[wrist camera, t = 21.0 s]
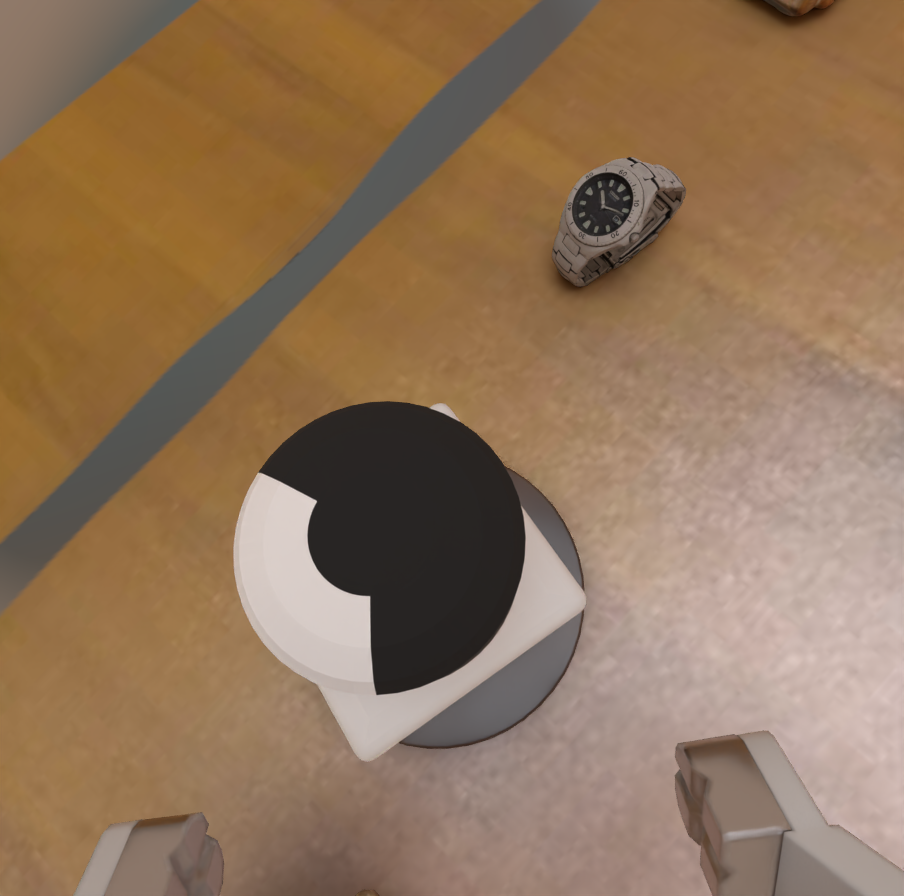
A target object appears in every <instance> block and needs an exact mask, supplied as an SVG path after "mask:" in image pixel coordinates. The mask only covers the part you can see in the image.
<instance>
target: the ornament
mask: <svg viewBox="0 0 904 896" xmlns="http://www.w3.org/2000/svg"><path fill="white" fill-rule="evenodd" d="M764 1H766V2H767V3H769V4H771V5H772V6H774V7H775V8H776V9H778V10H779V11H780V12H782V13H784V14H786V15H789V16H801V15H803V14H805V13H807V12H809V11H810V10H811V9H812V8H814V7H815V8H821V9H823V8H826V7H828V6H829V5H830V4H832V3H833V2H834V1H835V0H764Z"/></svg>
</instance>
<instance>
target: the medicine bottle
mask: <svg viewBox="0 0 904 896" xmlns="http://www.w3.org/2000/svg"><path fill="white" fill-rule="evenodd" d="M234 572H235V579H236V585H237V590H238V593H239V596H240V599H241V603H242V606H243V609H244V611H245V613H246V615H247V617H248V619H249V621H250V623H251V625H252V627H253V629H254V630H255V632H256V633H257V635H258V636H259V637H260V639H261V640H262V642H263V643H264V645H265V646H266V647H267V648H268V649H269V650H270V651H271V652H272V653H273V654H274V655H275V656H276V657H277V658H278V659H279V660H280V661H281V662H282V663H284V664H285V665H286V666H288V667H289V668H290V669H291V670H293V671H294V672H295V673H297V674H299V675H301V676H303V677H304V678H306V679H308V680H310V681H311V682H313V683H316V684H317V685H318V687H319V689H320V691H321V693H322V695H323V696H324V698H325V700H326V702H327V704H328V706H329V707H330V709H331V711H332V713H333V715H334V717H335V718H336V720H337V722H338V724H339V726H340V728H341V729H342V731H343V733H344V735H345V737H346V738H347V740H348V742H349V744H350V746H351V748H352V749H353V751H354V753H355V755H356V756H357V757H358V758H359V759H360V760H363V761H367V762H369V761H371V760H374V759H376V758H378V757H379V756H380V755H382V754H383V753H385V752H386V751H387V750H389V749H390V748H392V747H393V746H394V745H396V744H397V743H399V742H400V741H401V740H403V739H404V738H406V737H407V736H408V735H410V734H411V733H413V732H414V731H415V730H417V729H418V728H420V727H421V726H422V725H424V724H425V723H426V722H428V721H429V720H431V719H432V718H433V717H435V716H436V715H438V714H439V713H440V712H442V711H443V710H445V709H446V708H447V707H449V706H450V705H452V704H453V703H454V702H456V701H457V700H459V699H460V698H461V697H463V696H464V695H466V694H467V693H468V692H470V691H471V690H473V689H474V688H475V687H477V686H478V685H480V684H481V683H482V682H484V681H485V680H487V679H488V678H489V677H491V676H492V675H494V674H495V673H496V672H498V671H499V670H501V669H502V668H503V667H505V666H506V665H507V664H509V663H510V662H512V661H513V660H514V659H516V658H517V657H519V656H520V655H521V654H523V653H524V652H526V651H527V650H528V649H530V648H531V647H533V646H534V645H535V644H537V643H538V642H540V641H541V640H542V639H544V638H545V637H547V636H548V635H549V634H551V633H552V632H554V631H555V630H556V629H558V628H559V627H561V626H562V625H563V624H565V623H566V622H568V621H569V620H570V619H572V618H573V617H575V616H576V615H577V614H579V613H580V612H581V611H582V610H583V609H584V608H585V606H586V600H587V598H586V596H585V593H584V591H583V590H582V588H581V587H580V585H579V584H578V583H577V581H576V580H575V579H574V577H573V576H572V575H571V573H570V572H569V570H568V569H567V568H566V566H565V565H564V564H563V562H562V561H561V559H560V558H559V557H558V555H557V554H556V553H555V551H554V550H553V548H552V547H551V546H550V544H549V543H548V542H547V540H546V539H545V537H544V536H543V535H542V533H541V532H540V531H539V529H538V528H537V526H536V525H535V524H534V522H533V521H532V520H531V518H530V517H529V515H528V514H527V513H526V511H525V510H524V509H523V507H522V506H521V504H520V500H519V496H518V493H517V491H516V489H515V486H514V484H513V481H512V479H511V477H510V475H509V473H508V472H507V470H506V468H505V467H504V465H503V463H502V461H501V460H500V459H499V458H498V456H497V455H496V454H495V452H494V451H493V450H492V449H491V447H490V446H489V445H488V444H487V443H486V442H485V441H484V440H483V439H481V438H480V437H479V436H478V435H477V434H476V433H475V432H474V431H472V430H471V429H469V428H468V427H467V426H465V425H464V424H462V423H461V422H460V421H459V419H458V418H457V417H456V415H455V414H454V413H453V411H452V410H451V409H450V408H449V407H448V406H447V405H445V404H442V403H438V404H435V405H433V406H431V407H430V408H428V407H424V406H420V405H415V404H410V403H402V402H390V401H387V402H369V403H364V404H358V405H353V406H349V407H346V408H343V409H339V410H336V411H333V412H331V413H329V414H327V415H324V416H322V417H320V418H318V419H316V420H314V421H312V422H311V423H309V424H308V425H306V426H304V427H303V428H301V429H300V430H298V431H297V432H296V433H294V434H293V435H292V436H291V437H290V438H288V439H287V440H286V441H285V442H283V443H282V445H281V446H280V447H279V448H278V449H277V450H276V451H275V452H274V453H273V454H272V455H271V456H270V457H269V459H268V460H267V461H266V463H265V464H264V465H263V467H262V468H261V469H260V471H259V472H258V474H257V476H256V477H255V479H254V481H253V483H252V484H251V486H250V488H249V490H248V492H247V495H246V497H245V500H244V502H243V505H242V507H241V510H240V514H239V518H238V522H237V526H236V531H235V540H234Z"/></svg>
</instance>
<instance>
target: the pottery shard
mask: <svg viewBox="0 0 904 896" xmlns="http://www.w3.org/2000/svg"><path fill="white" fill-rule="evenodd" d="M355 896H379V895H378V893H377V892H376V891H375V890H363V891H361V892H359V893H358V894H357V895H355Z"/></svg>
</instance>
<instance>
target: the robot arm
mask: <svg viewBox="0 0 904 896" xmlns="http://www.w3.org/2000/svg"><path fill="white" fill-rule="evenodd" d="M675 758H676V761H677V763H678V765H679V768H680V770H679V771H678V773H677V774H676V775H675V790H676V796H677V801H678V806H679V809H680V813H681V816H682V819H683V822H684V825H685V827H686V830H687V832H688V835H689V837H690V838H692V839H693V840H694V841H695V842H696V843H698V844H699V845H700V846H701V855H700V866H701V868H702V871H703V873H704V876H705V878H706V881H707V883H708V886H709V888H710V890H711V893H712V895H713V896H904V871H903V870H902V869H900V868H899V867H897V866H896V865H895V864H893V863H892V862H890V861H889V860H887V859H886V858H885V857H883V856H882V855H880V854H879V853H878V852H876V851H875V850H873V849H872V848H871V847H869V846H868V845H866V844H865V843H864V842H862V841H861V840H859V839H858V838H856V837H855V836H854V835H852V834H851V833H849V832H848V831H847V830H845V829H844V828H842V827H841V826H840V825H831V826H829V825H828V823H827V822H826V820H825V818H824V817H823V815H822V814H821V812H820V810H819V809H818V807H817V805H816V804H815V802H814V800H813V799H812V797H811V796H810V794H809V792H808V791H807V789H806V787H805V786H804V784H803V783H802V781H801V779H800V778H799V776H798V774H797V773H796V771H795V770H794V768H793V766H792V765H791V763H790V761H789V760H788V758H787V756H786V755H785V753H784V752H783V750H782V748H781V747H780V745H779V743H778V742H777V740H776V739H775V737H774V736H773V735H772V734H771V733H770V732H768V731H758V732H752V733H746V734H740V735H735V734H733V735H726V736H720V737H714V738H708V739H702V740H695V741H689V742H683V743H678V744H677V746H676V753H675ZM208 826H209V823H208V821H207V820H206V818H205V816H204V815H203V813H202V812H200V813H193V814H185V815H177V816H169V817H161V818H153V819H145V820H135V821H128V822H121V823H114V824H110V826H109V827H108V828H107V829H106V830H105V831H104V833H103V834H102V835H101V837H100V839H99V841H98V843H97V845H96V848H95V850H94V852H93V854H92V856H91V858H90V861H89V863H88V865H87V867H86V869H85V871H84V873H83V876H82V878H81V880H80V882H79V884H78V886H77V889H76V891H75V893H74V895H73V896H220V892H221V888H222V884H223V872H224V859H223V854H222V849H221V847H220V845H219V843H218V841H217V840H216V839H214V838H212V837H210V836H208V835H207V834H206V833H207V829H208Z"/></svg>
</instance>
